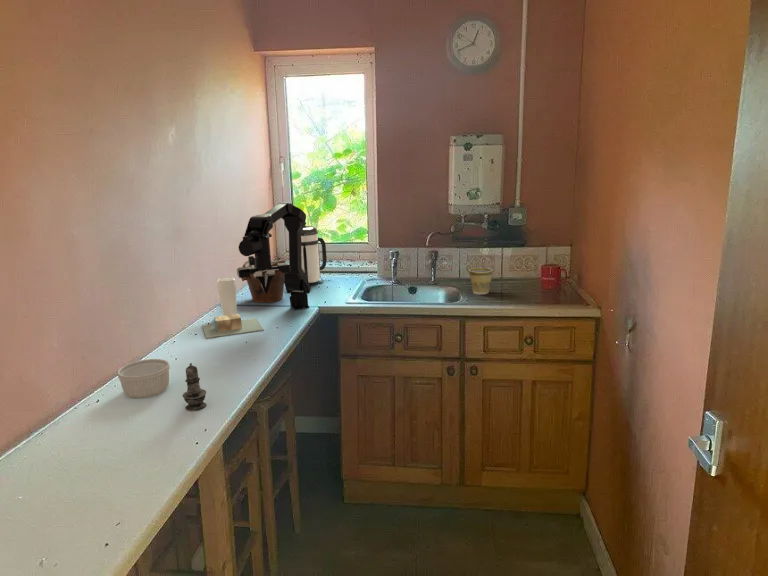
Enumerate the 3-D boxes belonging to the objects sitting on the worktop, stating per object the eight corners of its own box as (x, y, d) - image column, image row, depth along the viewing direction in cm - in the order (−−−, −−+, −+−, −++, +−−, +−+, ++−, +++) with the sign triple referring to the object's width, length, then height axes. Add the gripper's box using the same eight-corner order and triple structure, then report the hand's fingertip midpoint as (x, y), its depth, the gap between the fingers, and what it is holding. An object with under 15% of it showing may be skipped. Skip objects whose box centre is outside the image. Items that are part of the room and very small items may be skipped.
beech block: (238, 313, 220) (213, 317, 217) (240, 317, 214) (215, 321, 211) (239, 324, 221) (214, 327, 218) (241, 328, 215) (216, 332, 212)
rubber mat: (256, 319, 228) (256, 318, 228) (263, 330, 213) (263, 329, 213) (202, 326, 221) (202, 325, 221) (206, 338, 207) (206, 337, 206)
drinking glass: (234, 318, 229) (230, 281, 226) (218, 318, 230) (214, 281, 227) (241, 313, 236) (237, 277, 232) (225, 313, 237) (221, 277, 233)
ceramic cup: (482, 296, 247) (482, 273, 245) (464, 293, 255) (464, 270, 252) (501, 291, 256) (501, 268, 253) (483, 287, 263) (483, 265, 261)
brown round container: (241, 296, 263) (237, 257, 258) (286, 291, 269) (283, 253, 264) (245, 307, 246) (241, 265, 242) (293, 301, 252) (290, 260, 248)
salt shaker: (198, 400, 156) (192, 357, 153) (212, 404, 153) (207, 361, 150) (179, 408, 152) (173, 364, 149) (193, 413, 148) (188, 368, 145)
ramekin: (135, 405, 155) (131, 380, 153) (112, 392, 163) (108, 369, 162) (181, 388, 164) (178, 365, 163) (157, 377, 173) (154, 355, 171)
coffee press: (324, 286, 276) (319, 222, 269) (289, 287, 276) (284, 223, 269) (327, 278, 293) (324, 217, 286) (295, 279, 293) (291, 218, 286)
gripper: (283, 245, 225) (286, 285, 228) (233, 250, 218) (237, 291, 222) (289, 250, 214) (292, 291, 218) (237, 255, 208) (241, 298, 212)
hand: (265, 293), depth 218 cm, fingers closed
